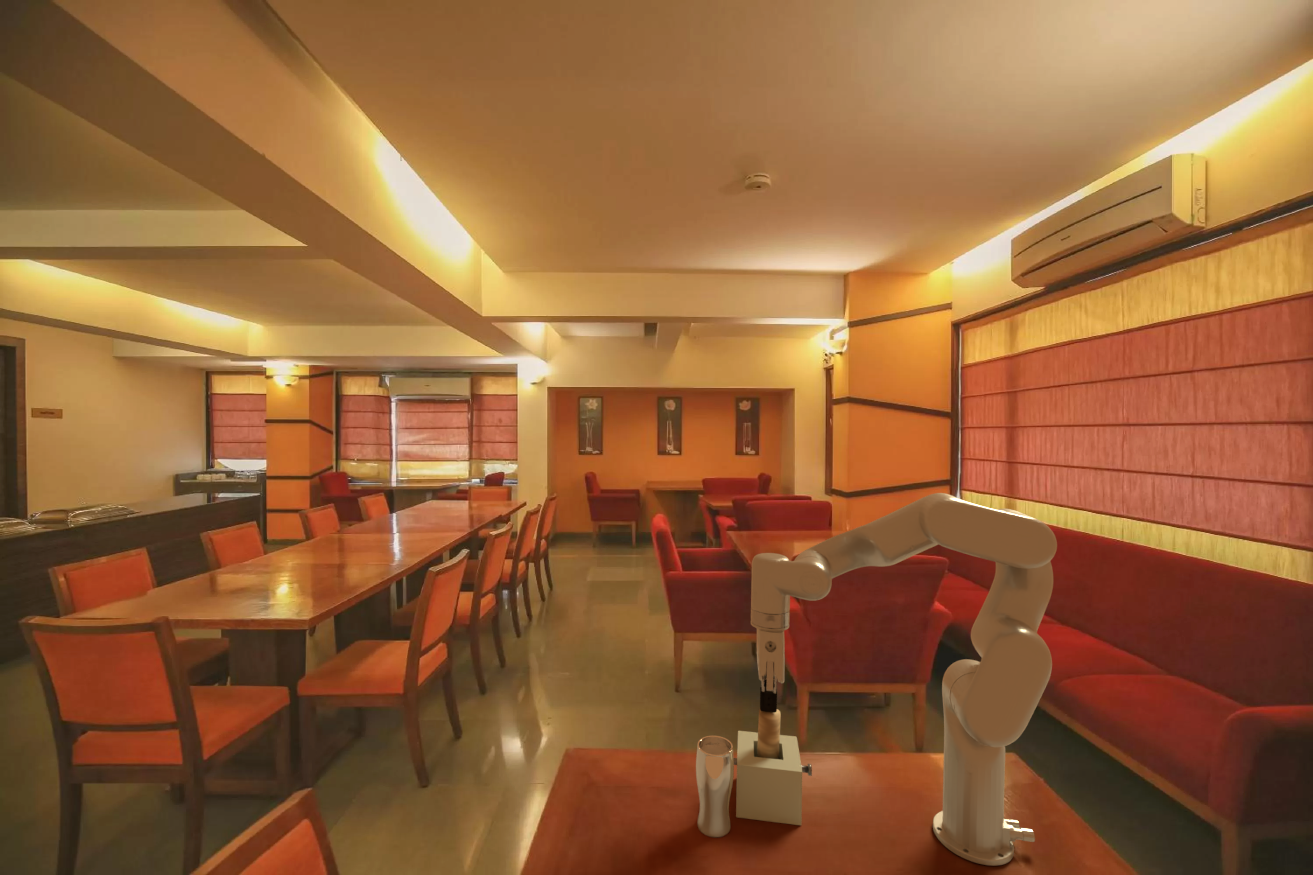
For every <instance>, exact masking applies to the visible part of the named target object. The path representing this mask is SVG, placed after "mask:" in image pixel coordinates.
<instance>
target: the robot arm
mask: <svg viewBox="0 0 1313 875" xmlns="http://www.w3.org/2000/svg"><path fill="white" fill-rule="evenodd" d="M938 545H939V546H941V547H943V548H945V549H949V550H952V551H954V552H955V551H956V552H958V553H962V554H966V555H969V556H972V557H976V558H980V559H983V560H987V561H990V562H995V573H994V578H993V581H992V583H991V586H990V588H989V591H988V594H987V595H986V598H985V600H984V602H983V604H982V606H981V608H980V610H979V613H978V614H977V617H976V618H975V621H974V623H973V625H972V627H971V630H970V640H971V643H972V646H973V648H974V650H975V651H976V653H978V655H979V656H980V657H981V659H980V661H978V660H976V659H975V660H974V659H967V658H965V659H959V660H956V661H955V662H952V664H950V665H949V666H948V667H947V669H946V670H945V671H944V673H943V677H942V682H941V684H942V685H941V694H942V695H941V696H942V707H943V708H942V709H943V726H944V727H943V779H942V780H943V782H942V810H941V811H939V812H937V813H935V815H934V816H933V818H932V819H933V820H932V828H933V829H932V830H933V833H934V835H935V837H936V838H937V839H938V841H939V842H940V843H941V844H942V845H943V846H944V847H945V848H946V849H948V850H949V851H951V853H953V854H954V855H957V856H959V857H960V858H962V859H965V860H966V861H968V862H972V863H975V864H978V865H979V864H980V865H985V866H990V867H991V866H994V867H995V866H1002V865H1005V864H1008V863H1009V862H1011V861H1012V859H1013V858H1014V855H1015V854H1014V852H1015V851H1014V850H1015V849H1014V843H1015V842H1016V840H1018V841H1019V840H1020V841H1023V842H1031V843H1034V842H1035V841H1036V837H1035V833H1034V831H1033V829H1031V828H1028V827H1020V822H1019V821H1018V820H1017V819H1012V818H1009V819H1008V818H1004V817H1005V814H1004V813H1005V781H1006V780H1005V776H1006V775H1005V774H1006V773H1005V772H1006V771H1005V770H1006V746H1009V745H1011V744H1012V743H1015V742H1016V741H1017V740H1018V739H1019V738H1020V737H1021V736H1022V734H1023V733H1024V731H1025V730H1026V728H1027V726H1028V725H1029V723H1030V720H1031V718H1032V716H1033V715H1034V713H1035V710H1036V708H1037V706H1038V704H1039V703H1040V699H1041V698H1042V696H1043V693H1044V692H1045V690H1046V687H1047V686H1048V683H1049V681H1050V679H1051V676H1052V675H1051V674H1052V669H1053V660H1052V659H1053V658H1052V654H1051V651H1050V648H1049V646H1048V645H1047V643H1046V641H1045V640H1044V639H1043V637H1042V636H1040V635H1039V633H1038V629H1039V627H1040V625H1041V622H1042V620H1043V617H1044V615H1045V612H1046V610H1047V608H1048V606H1049V605H1048V604H1049V603H1050V600H1051V596H1052V593H1053V588H1054V571H1053V566H1052V562H1051V561H1052V560H1053V558H1054V557H1055V555H1056V552H1057V549H1058V542H1057V538H1056V535H1055V533H1054V531H1053V530H1052V529H1051V528H1050V526H1048V525H1047V524H1046V523H1045V522H1043V521H1042V520H1039V519H1038V518H1035V517H1033V516H1030V515H1028V514H1025V513H1023V512H1021V511H1018V510H1014V509H1010V508H997V509H995V508H991V507H987V506H983V505H981V504H980V505H979V504H976V503H974V502H973V503H972V502H969V501H966V500H963V499H961V498H959V497H956V496H954V495H952V494H948V493H945V492H944V493H943V492H937V493H936V492H935V493H931V494H928V495H926V496H923V497H921V498H918V499H917V500H915V501H913V502H911V503H909V504H907V505H905V506H903V507H901V508H899V509H896V510H895V511H892V512H890V513H888V514H886V515H884V516H881V517H878V518H877V519H875V520H873V521H871V522H868V523H866V524H864V525H860V526H857V527H855V528H853V529H851V530H847V531H845V532H842V533H840V534H837V535H834V536H832V537H830V538H827V539H826V540H824V541H821V542H819V543H817V544H815V545H813V546H810V547H809V548H807V549H805V550H803V551H801V552H800V553H799V554H798V555H797V556H796V557H795V558H794V560H790V559H789V557H787V556H786V555H783V554H780V553H776V552H775V553H774V552H761V553H757V554H756V555H754V557H753V558H752V561H751V582H750V583H751V585H750V586H751V587H750V589H751V590H750V592H751V594H750V599H751V600H750V625H751V626H752V627H753V628H755V629H756V661H757V662H756V663H757V671H758V680H759V681H760V682H761V684H760V685H761V687H759V690H760V691H759V693H760V694H759V709H760V710H761V711H765V712H776V711H777V709H778V707H777V706H778V691H777V690H778V689H777V682H778V683H780V684H784V683H785V680H786V679H785V654H786V652H785V650H786V649H785V644H786V643H785V631H787V630H788V629H789V628H790V623H791V622H790V616H791V613H790V612H791V611H790V610H791V597H795V598H797V599H800V600H804V601H813V602H814V601H819V600H822V599H824V598H825V597H827V596H828V595H829V593H830V592H831V589H832V586H833V584H832V583H833V582H832V581H833V579H834V578H836V577H839V576H841V575H843V574H845V573H848V572H851V571H853V570H856V569H860V568H864V567H880V568H881V567H890V566H894V565H896V564H898V563H900V562H902V561H903V562H904V561H905V560H907V559H910V558H912V557H913V556H915V555H918V554H920V553H923V552H924V551H927V550H930V549H932V548H933V547H936V546H938Z"/></svg>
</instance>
